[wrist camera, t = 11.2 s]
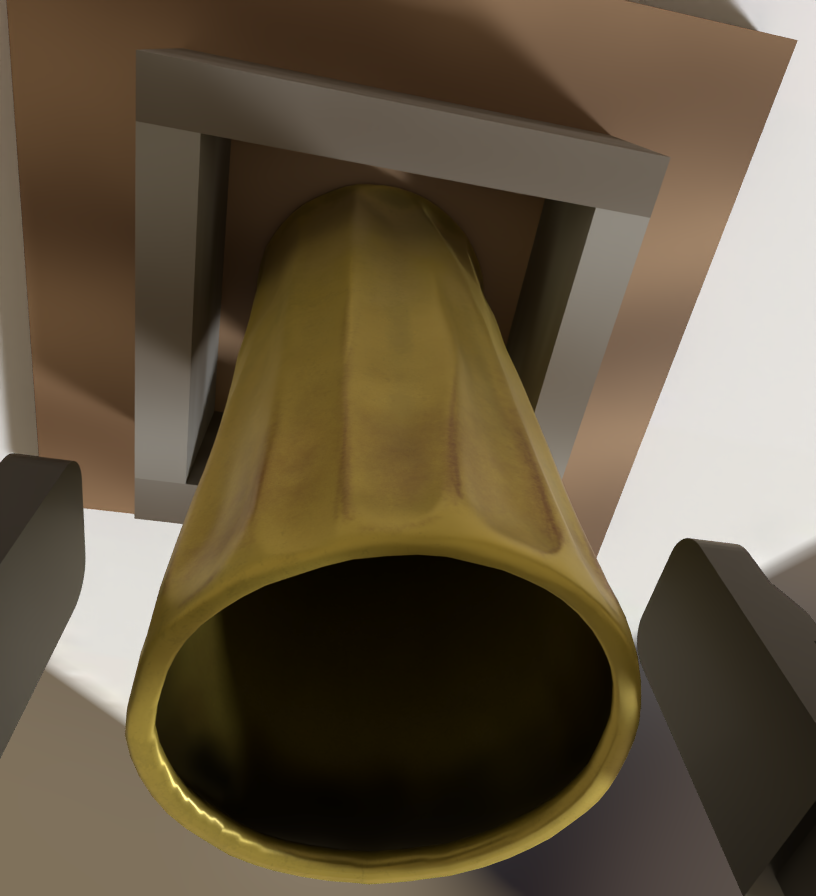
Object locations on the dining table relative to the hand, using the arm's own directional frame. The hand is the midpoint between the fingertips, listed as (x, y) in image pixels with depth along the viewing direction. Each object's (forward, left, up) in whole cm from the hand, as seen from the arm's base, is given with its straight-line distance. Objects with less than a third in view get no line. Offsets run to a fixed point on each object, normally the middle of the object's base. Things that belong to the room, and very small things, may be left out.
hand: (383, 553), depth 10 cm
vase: (0, 0, -12) cm, 12 cm away
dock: (0, 0, -13) cm, 13 cm away
